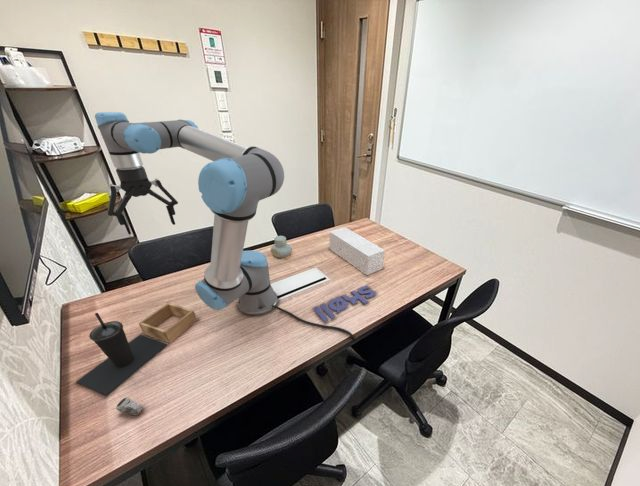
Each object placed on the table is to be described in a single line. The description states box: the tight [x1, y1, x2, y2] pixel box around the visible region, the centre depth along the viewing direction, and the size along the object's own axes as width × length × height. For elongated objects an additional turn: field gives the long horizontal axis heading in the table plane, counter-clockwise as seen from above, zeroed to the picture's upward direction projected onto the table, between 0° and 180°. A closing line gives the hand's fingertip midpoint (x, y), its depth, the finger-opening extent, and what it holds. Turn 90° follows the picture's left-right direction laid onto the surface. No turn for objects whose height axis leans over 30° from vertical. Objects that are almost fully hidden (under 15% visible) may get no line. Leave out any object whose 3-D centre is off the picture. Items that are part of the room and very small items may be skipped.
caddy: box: [138, 302, 198, 344], centre depth 102 cm, size 12×12×5 cm
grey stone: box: [115, 396, 144, 416], centre depth 75 cm, size 4×6×5 cm, turn 85°
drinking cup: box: [89, 312, 134, 368], centre depth 84 cm, size 8×8×20 cm
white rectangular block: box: [329, 226, 386, 276], centre depth 148 cm, size 32×11×11 cm, turn 39°
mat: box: [76, 334, 168, 397], centre depth 89 cm, size 12×20×1 cm, turn 161°
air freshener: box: [270, 235, 293, 259], centre depth 147 cm, size 11×8×10 cm
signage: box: [312, 285, 376, 323], centre depth 119 cm, size 28×1×10 cm
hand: (152, 227), depth 102 cm, fingers open, 13 cm apart
